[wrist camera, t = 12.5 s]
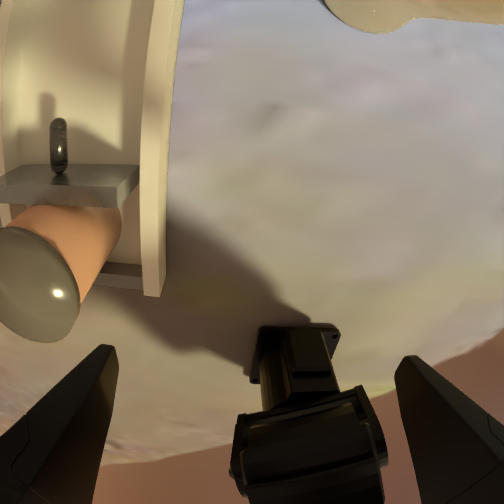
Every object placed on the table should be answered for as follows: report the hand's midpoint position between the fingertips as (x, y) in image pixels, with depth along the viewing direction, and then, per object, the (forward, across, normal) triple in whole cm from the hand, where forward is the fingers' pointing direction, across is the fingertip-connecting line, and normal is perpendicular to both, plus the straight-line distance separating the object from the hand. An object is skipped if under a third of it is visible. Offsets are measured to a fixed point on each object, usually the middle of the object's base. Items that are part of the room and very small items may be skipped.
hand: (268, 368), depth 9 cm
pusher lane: (+12, +10, -5) cm, 17 cm away
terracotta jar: (+11, +10, +1) cm, 15 cm away
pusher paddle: (+11, +11, -4) cm, 16 cm away
